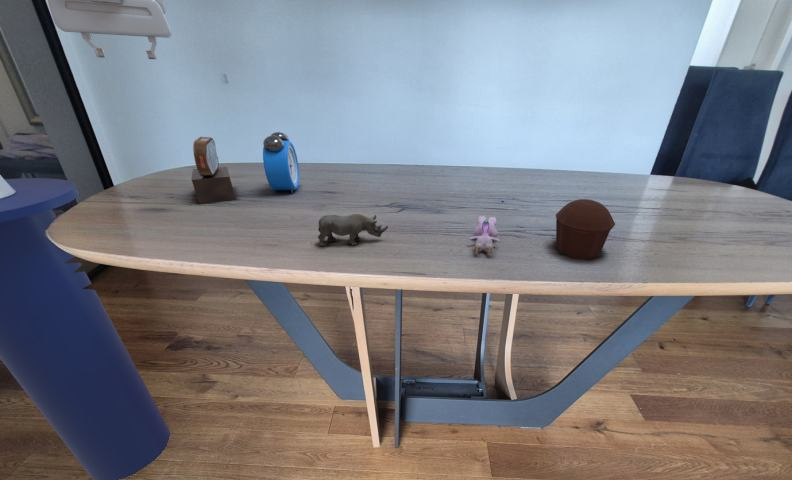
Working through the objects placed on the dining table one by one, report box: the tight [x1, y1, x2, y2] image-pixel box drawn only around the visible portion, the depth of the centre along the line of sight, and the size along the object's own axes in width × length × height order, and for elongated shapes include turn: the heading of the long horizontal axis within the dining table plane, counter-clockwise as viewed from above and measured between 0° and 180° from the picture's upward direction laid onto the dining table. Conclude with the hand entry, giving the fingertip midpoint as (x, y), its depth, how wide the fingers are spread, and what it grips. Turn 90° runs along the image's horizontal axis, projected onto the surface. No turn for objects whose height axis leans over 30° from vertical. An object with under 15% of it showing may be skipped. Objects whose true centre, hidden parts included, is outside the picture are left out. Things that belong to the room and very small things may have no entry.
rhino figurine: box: [317, 213, 389, 247], centre depth 74 cm, size 4×14×6 cm, turn 101°
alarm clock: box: [262, 131, 300, 194], centre depth 101 cm, size 13×6×15 cm, turn 11°
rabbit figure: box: [468, 215, 501, 256], centre depth 76 cm, size 6×6×15 cm
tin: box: [192, 136, 220, 176], centre depth 93 cm, size 15×3×8 cm, turn 22°
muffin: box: [555, 198, 616, 260], centre depth 73 cm, size 12×11×10 cm
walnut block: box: [191, 166, 237, 205], centre depth 97 cm, size 8×12×6 cm, turn 31°
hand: (128, 58), depth 86 cm, fingers open, 8 cm apart
